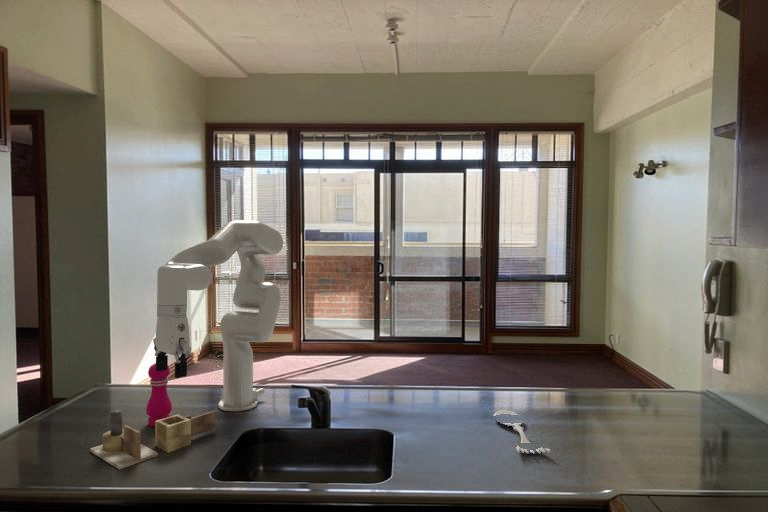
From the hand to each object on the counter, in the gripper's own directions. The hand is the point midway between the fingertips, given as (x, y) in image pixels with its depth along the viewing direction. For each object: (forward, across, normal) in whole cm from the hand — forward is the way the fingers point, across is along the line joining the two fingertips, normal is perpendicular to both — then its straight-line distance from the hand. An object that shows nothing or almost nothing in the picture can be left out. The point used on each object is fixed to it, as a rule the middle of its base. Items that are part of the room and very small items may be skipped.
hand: (171, 373), depth 143 cm
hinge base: (+20, +4, +10) cm, 23 cm away
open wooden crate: (+20, 0, -6) cm, 20 cm away
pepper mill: (+20, +18, -6) cm, 27 cm away
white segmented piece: (+19, -70, -69) cm, 100 cm away
